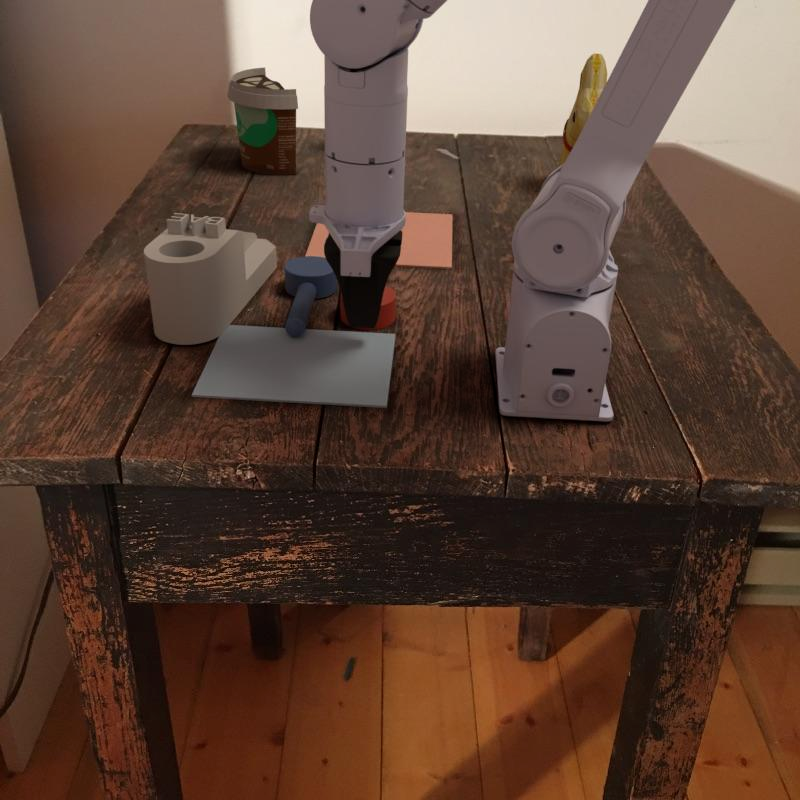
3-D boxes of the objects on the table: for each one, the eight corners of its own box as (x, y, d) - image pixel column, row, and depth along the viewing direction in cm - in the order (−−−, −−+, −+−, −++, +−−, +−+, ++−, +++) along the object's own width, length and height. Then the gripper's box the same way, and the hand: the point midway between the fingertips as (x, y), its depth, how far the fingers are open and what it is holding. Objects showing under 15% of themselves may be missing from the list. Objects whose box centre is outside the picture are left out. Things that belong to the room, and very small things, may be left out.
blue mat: (386, 408, 65) (386, 405, 65) (191, 397, 66) (191, 394, 66) (395, 336, 75) (395, 333, 74) (224, 326, 75) (224, 324, 75)
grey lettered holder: (281, 261, 86) (277, 178, 82) (210, 348, 71) (201, 251, 67) (224, 255, 87) (217, 173, 83) (142, 340, 72) (128, 244, 68)
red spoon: (393, 331, 75) (394, 307, 74) (337, 328, 75) (337, 304, 74) (401, 270, 86) (402, 248, 85) (352, 267, 86) (352, 245, 85)
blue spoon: (289, 277, 84) (288, 254, 82) (339, 279, 83) (339, 257, 82) (265, 338, 73) (263, 313, 72) (322, 341, 73) (322, 316, 72)
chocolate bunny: (557, 203, 103) (575, 63, 95) (554, 172, 112) (570, 43, 104) (619, 207, 102) (642, 67, 94) (611, 176, 111) (631, 46, 104)
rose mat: (451, 269, 86) (451, 267, 86) (303, 261, 87) (303, 259, 87) (452, 216, 98) (452, 214, 98) (322, 209, 99) (322, 207, 98)
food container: (219, 152, 114) (213, 69, 109) (267, 148, 117) (263, 66, 111) (249, 183, 105) (244, 94, 100) (300, 177, 107) (297, 90, 102)
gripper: (321, 122, 71) (323, 282, 78) (293, 183, 59) (298, 366, 66) (412, 126, 71) (405, 286, 78) (403, 188, 59) (396, 372, 66)
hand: (362, 323), depth 72 cm, fingers closed
